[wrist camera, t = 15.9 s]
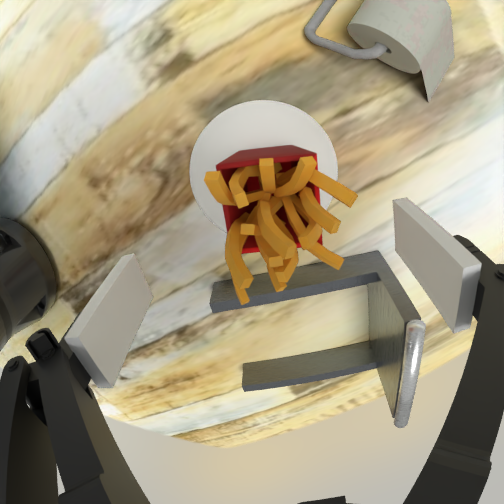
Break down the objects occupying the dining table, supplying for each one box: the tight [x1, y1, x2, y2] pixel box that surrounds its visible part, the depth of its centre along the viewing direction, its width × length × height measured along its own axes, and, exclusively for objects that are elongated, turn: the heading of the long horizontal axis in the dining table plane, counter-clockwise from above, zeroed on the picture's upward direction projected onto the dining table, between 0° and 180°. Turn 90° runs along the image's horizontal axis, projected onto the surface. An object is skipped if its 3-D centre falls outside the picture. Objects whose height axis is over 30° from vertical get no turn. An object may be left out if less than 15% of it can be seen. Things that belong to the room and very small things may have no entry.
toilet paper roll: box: [304, 0, 454, 102], centre depth 22 cm, size 10×11×12 cm
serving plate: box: [189, 100, 338, 233], centre depth 30 cm, size 14×14×1 cm
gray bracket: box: [210, 251, 426, 428], centre depth 32 cm, size 19×14×14 cm
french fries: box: [204, 145, 358, 305], centre depth 23 cm, size 9×8×15 cm
